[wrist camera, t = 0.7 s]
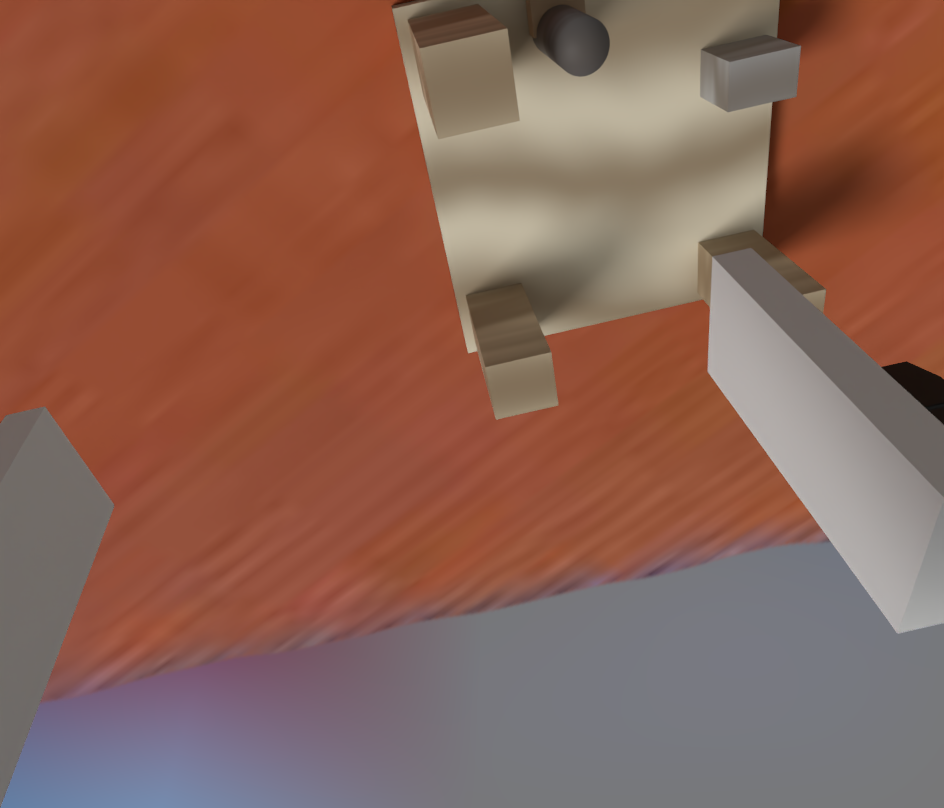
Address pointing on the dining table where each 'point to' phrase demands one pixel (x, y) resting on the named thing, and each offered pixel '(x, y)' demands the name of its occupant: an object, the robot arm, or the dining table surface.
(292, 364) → the dining table surface
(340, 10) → the dining table surface
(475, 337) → the stool seat
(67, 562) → the robot arm
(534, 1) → the hinged leg
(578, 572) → the dining table surface
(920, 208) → the dining table surface
